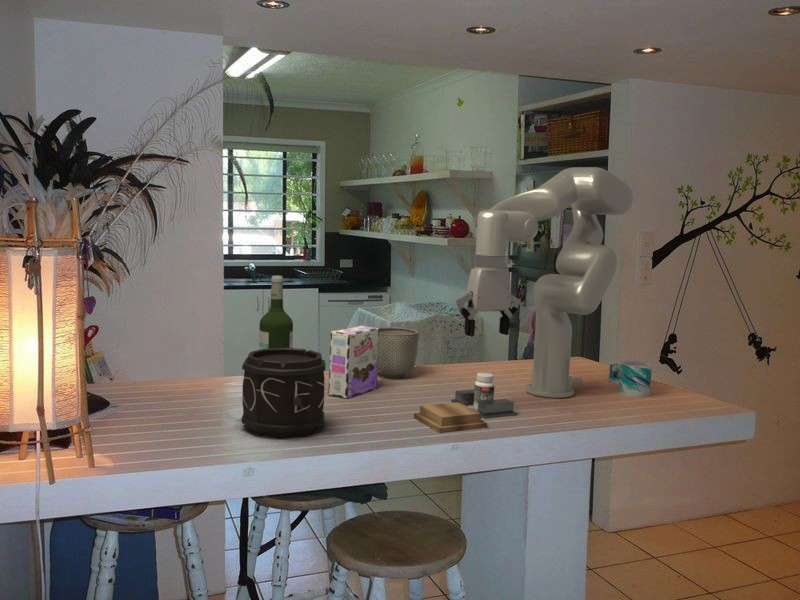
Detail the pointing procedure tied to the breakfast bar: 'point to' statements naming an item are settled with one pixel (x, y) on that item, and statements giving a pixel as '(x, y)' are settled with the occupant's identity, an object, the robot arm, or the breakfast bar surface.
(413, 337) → the planter
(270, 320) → the wine bottle
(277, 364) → the wooden barrel
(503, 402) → the clamp jaws
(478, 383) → the pill bottle
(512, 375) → the breakfast bar surface
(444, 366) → the breakfast bar surface
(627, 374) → the mug
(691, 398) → the breakfast bar surface
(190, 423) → the breakfast bar surface
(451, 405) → the tan square pedestal
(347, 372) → the candy box
